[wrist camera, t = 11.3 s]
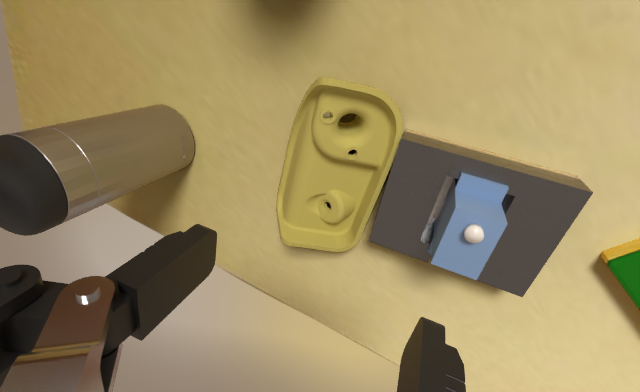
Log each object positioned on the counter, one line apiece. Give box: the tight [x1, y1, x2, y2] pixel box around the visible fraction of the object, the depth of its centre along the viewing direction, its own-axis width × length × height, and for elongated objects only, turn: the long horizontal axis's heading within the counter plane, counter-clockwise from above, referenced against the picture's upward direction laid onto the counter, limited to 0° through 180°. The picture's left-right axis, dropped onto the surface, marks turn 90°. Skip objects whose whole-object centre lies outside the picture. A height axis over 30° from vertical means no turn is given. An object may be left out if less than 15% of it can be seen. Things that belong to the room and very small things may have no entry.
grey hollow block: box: [369, 129, 593, 297], centre depth 32 cm, size 16×12×4 cm
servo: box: [428, 172, 509, 280], centre depth 30 cm, size 4×9×8 cm, turn 169°
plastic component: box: [277, 77, 403, 252], centre depth 36 cm, size 20×7×10 cm
